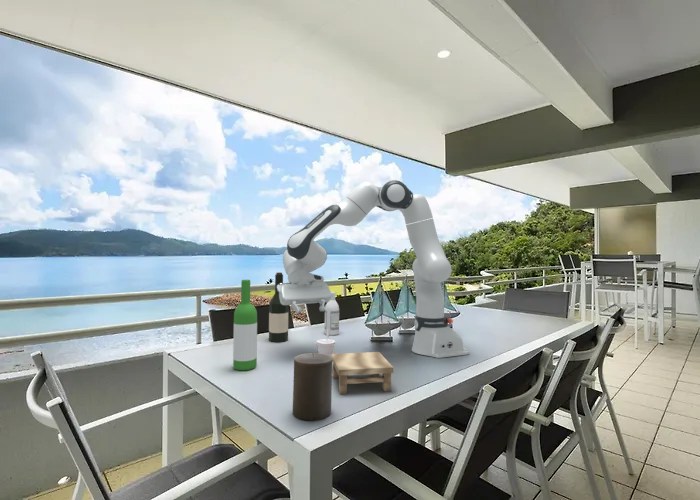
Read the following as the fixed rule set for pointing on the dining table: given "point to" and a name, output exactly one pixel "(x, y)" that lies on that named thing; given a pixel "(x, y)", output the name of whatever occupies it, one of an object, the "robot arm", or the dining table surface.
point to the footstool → (361, 369)
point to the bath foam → (332, 316)
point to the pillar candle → (312, 386)
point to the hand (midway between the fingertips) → (311, 311)
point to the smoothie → (326, 345)
